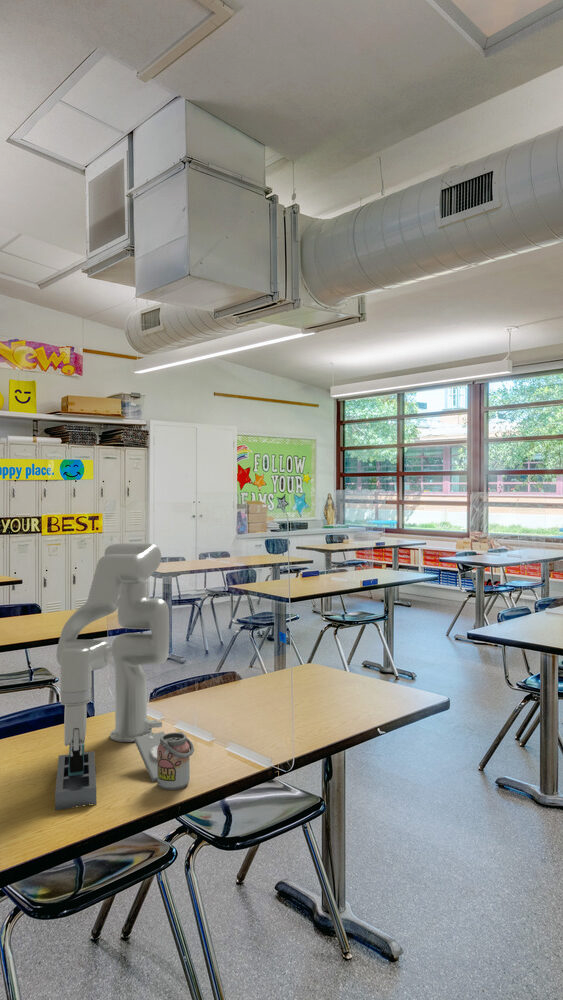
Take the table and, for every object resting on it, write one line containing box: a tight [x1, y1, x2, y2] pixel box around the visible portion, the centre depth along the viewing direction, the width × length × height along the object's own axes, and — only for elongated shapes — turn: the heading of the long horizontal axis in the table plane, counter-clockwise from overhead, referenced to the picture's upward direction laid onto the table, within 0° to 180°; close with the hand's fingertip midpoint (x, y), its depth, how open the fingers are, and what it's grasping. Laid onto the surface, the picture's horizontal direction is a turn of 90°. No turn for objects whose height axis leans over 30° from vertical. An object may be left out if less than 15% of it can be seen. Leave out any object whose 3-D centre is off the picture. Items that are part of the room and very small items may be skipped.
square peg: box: [68, 741, 85, 776], centre depth 159 cm, size 4×4×9 cm
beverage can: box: [156, 731, 195, 791], centre depth 159 cm, size 9×8×12 cm
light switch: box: [134, 731, 166, 783], centre depth 169 cm, size 8×6×14 cm
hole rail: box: [54, 751, 97, 811], centre depth 159 cm, size 9×24×4 cm, turn 18°
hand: (76, 767), depth 159 cm, fingers closed on square peg, 3 cm apart
